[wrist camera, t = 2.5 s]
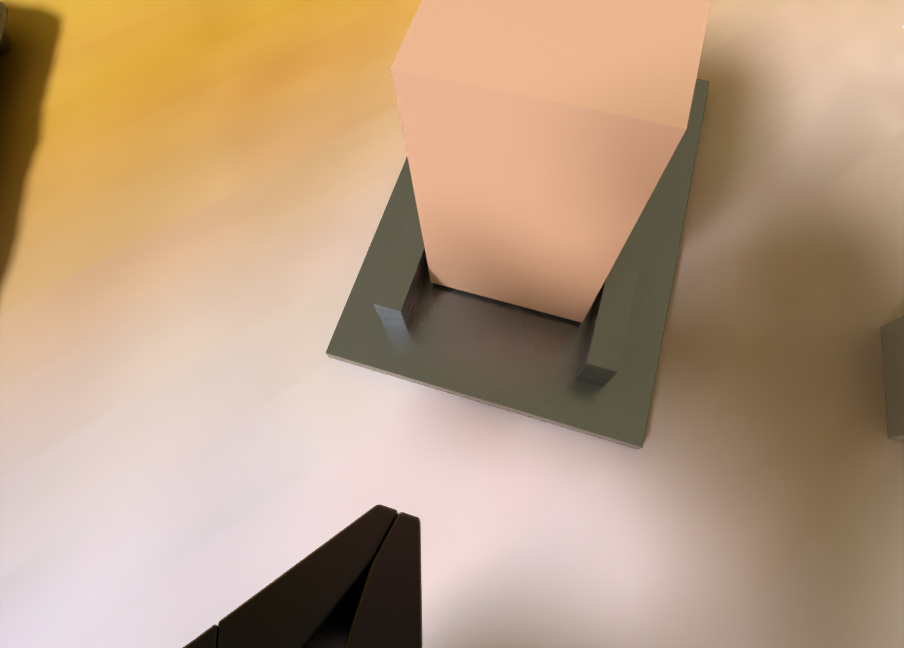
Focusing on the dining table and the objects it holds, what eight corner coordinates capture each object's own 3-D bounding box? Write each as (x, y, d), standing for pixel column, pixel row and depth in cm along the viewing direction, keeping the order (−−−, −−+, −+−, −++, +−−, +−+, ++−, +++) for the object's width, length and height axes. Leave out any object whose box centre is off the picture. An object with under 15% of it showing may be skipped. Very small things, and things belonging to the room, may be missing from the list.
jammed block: (582, 322, 23) (686, 128, 11) (431, 282, 24) (390, 67, 12) (613, 193, 25) (726, -75, 14) (474, 161, 26) (473, -113, 15)
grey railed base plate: (637, 449, 21) (662, 438, 19) (329, 357, 24) (309, 334, 21) (704, 90, 28) (729, 42, 25) (458, 42, 30) (456, -7, 27)
